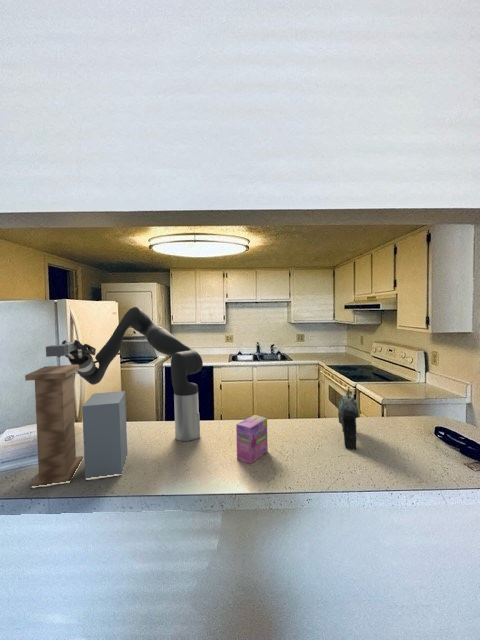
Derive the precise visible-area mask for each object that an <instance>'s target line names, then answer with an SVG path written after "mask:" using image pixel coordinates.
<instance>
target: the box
mask: <svg viewBox="0 0 480 640" xmlns="http://www.w3.org/2000/svg"><path fill="white" fill-rule="evenodd" d="M235 427H236V428H235V429H236V432H235V433H236V459H237V460H239V461H240V460H241V461H240V462H243V461H244V462H243V463H246V464H248V465H251V464H253V462H255V461H256V460H258V459H259V458H261V457H262V456H263V455H265V454H266V453H267V452H268V418H267V417H264V416H260V415H257V414H253V415H252V416H249V417H247V418H246V419H244V420H242V421H240V422H237V423H236V426H235Z"/></svg>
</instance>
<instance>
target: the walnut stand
mask: <svg viewBox="0 0 480 640" xmlns="http://www.w3.org/2000/svg"><path fill="white" fill-rule="evenodd" d="M78 370H79V365H72V364H69V365H68V364H66V365H64V364H63V365H52V366H51V365H50V366H49V365H48V366H43V367H40V368H38V369H36V370H34V371H31V372H29V373H27V374H24V378H25V382H26V381H28V382H29V381H34V396H35V398H34V399H35V417H36V437H37V438H36V439H37V442H36V443H37V444H36V445H37V461H38V462H37V464H38V467H37V468H38V473H37V474H36V476H35V477H34V478H33V480H32V481H31V482H30V483H29V488H30V487H32V486H39V485H47V484H52V483H60V482H66V481H70V480H71V478H72V477H73V475H74V473H75V471H76V469H77V468H78V466H79V464H80V462H81V461H82V459H83V460H84V455H81V456H77V455H76V453H77V452H76V433H75V432H76V431H75V430H76V429H75V427H76V426H75V407H74V403H75V402H74V382H73V381H74V380H73V374H74V373H76V372H78ZM82 462H83V461H82ZM79 467H80V466H79ZM78 469H79V468H78ZM75 474H76V473H75ZM74 476H75V475H74ZM73 478H74V477H73Z"/></svg>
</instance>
